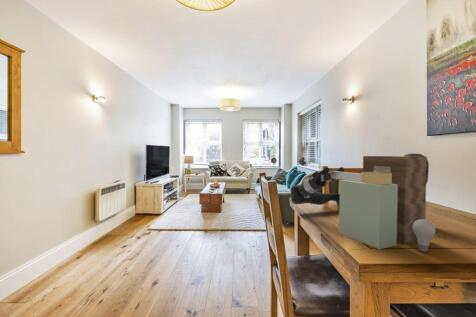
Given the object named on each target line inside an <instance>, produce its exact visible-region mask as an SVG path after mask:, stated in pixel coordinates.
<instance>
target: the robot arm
mask: <svg viewBox="0 0 476 317" xmlns="http://www.w3.org/2000/svg"><path fill="white" fill-rule="evenodd" d="M403 156H410V157H426V156H425V155H424V154H421V153H415V152H414V153H411V152H410V153H406V154H404V155H403ZM429 165H430V164H429V161H428V159H427V167H426V185H427V184H428V181H429V169H430V168H429ZM331 171H332V170H331ZM331 171H330V169H329V167H328V166H327V167H325V168H324V169H322V170H319V171H315V172H313V173H312V174H310V175H309V176H308V177H307V179H306V180H304V181H303V182H302V183H299V184H295V185H292V187H291V188H290V200H291V203H293V204H294V205H304V204H310V205H311V204H312V205H317V206H319V205H320V206H321V205H325V204H327V203H329V202H331V201H332V202H336V206H337V209H338V210H339V201H340V193H332V192H331V193H325V192H317V191H319V190H320V189H322V188H324V187H325V186H326V185H327V182H329V181H330V180H331V181H335V180H336V179H335V178H331ZM335 171H340V172H345V169H344V167H343V166H341V167H339V168H338V169H336V170H335ZM425 220H427V207H426V208H425Z"/></svg>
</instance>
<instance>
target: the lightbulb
mask: <svg viewBox="0 0 476 317" xmlns="http://www.w3.org/2000/svg"><path fill="white" fill-rule="evenodd" d="M412 228H413V231H414V233H415V234H416V237H417V241H416V242H417V244H418V246H417V247H418V250H419V251H421V252H422V253H426V252H428V251H429V246H430V242H431V240H432V238H433V237H434V236H435V234H436V226H435V225H434V224H433V222H431V221H430V220H428V219H426V220H425V219H419V220H416V221H415V222H414V223H413V226H412Z"/></svg>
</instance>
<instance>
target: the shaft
mask: <svg viewBox="0 0 476 317" xmlns="http://www.w3.org/2000/svg"><path fill="white" fill-rule="evenodd" d="M330 175H331V178H335V180H350V181H357V182H361V183H369V184H376V185H391V184H392V173H382V172H363V171H361V172H347V171H344V172H340V171H336V170H334V171H333V170H331V173H330Z"/></svg>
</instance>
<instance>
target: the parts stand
mask: <svg viewBox="0 0 476 317" xmlns="http://www.w3.org/2000/svg"><path fill="white" fill-rule="evenodd" d="M362 160H363V161H362V172H382V173H392V184H397V185H398V201H397V242H398V243H400V244H403V245H405V244H410V243H414V242H415V243H416V242H418V241H417V237H416V234H415V233H414V231H413V228H412V226H413V223H414V222H415V221H416V220H419V219H425V208H426V209H427V204H426V201H427V200H426V199H427V184H426V167H427V160H428V157H427V156H425V157H410V156H404V155H403V156H400V155H399V156H398V155H397V156H395V155H394V156H393V155H364V156H362Z"/></svg>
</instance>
